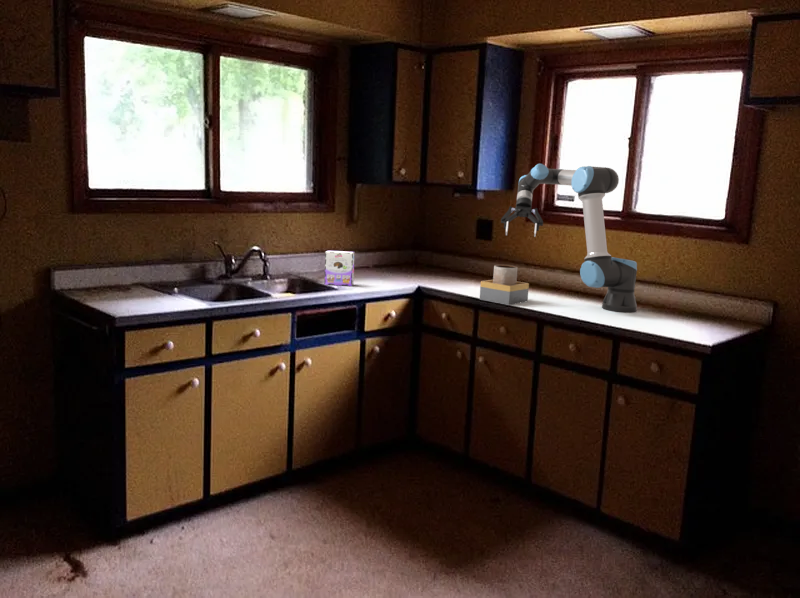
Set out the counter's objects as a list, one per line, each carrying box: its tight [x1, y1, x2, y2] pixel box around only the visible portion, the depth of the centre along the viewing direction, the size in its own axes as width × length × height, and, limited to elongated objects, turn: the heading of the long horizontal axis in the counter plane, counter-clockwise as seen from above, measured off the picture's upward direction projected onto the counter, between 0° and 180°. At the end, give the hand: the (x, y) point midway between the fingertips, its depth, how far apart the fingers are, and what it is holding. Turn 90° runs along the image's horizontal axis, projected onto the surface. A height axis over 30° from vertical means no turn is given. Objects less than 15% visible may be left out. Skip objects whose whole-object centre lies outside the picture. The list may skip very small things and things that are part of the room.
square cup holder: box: [479, 279, 530, 306], centre depth 345 cm, size 16×16×8 cm
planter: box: [492, 264, 518, 286], centre depth 344 cm, size 11×11×10 cm
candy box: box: [323, 250, 355, 287], centre depth 365 cm, size 14×6×16 cm, turn 84°
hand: (520, 234), depth 357 cm, fingers open, 13 cm apart
